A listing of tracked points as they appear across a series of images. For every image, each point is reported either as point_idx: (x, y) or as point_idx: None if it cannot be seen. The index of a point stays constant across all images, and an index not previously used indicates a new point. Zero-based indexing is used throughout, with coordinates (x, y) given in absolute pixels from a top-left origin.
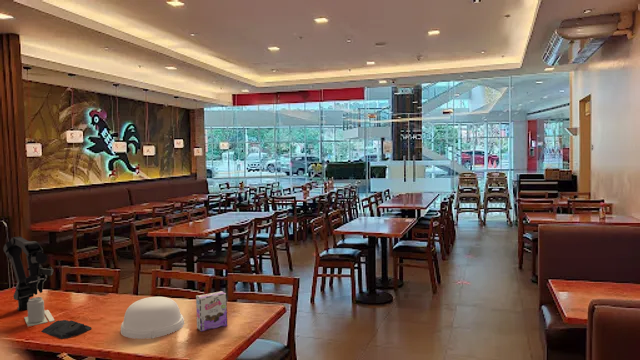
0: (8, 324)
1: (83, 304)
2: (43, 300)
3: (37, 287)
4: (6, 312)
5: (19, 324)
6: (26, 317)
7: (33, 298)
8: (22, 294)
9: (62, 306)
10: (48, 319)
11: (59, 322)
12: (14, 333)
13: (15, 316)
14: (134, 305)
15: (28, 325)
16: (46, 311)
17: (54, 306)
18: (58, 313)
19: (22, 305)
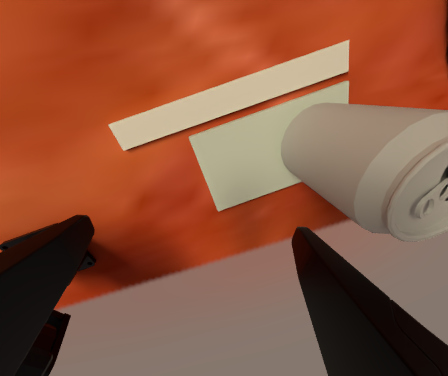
0: (271, 237)
1: None
2: (444, 115)
3: (365, 308)
4: (106, 292)
5: (294, 202)
6: (225, 201)
7: (424, 215)
8: (45, 338)
9: (8, 27)
10: (310, 84)
11: None
12: None
13: (175, 247)
14: None
15: None
16: (146, 128)
17: (8, 99)
18: (199, 38)
19: (78, 269)
